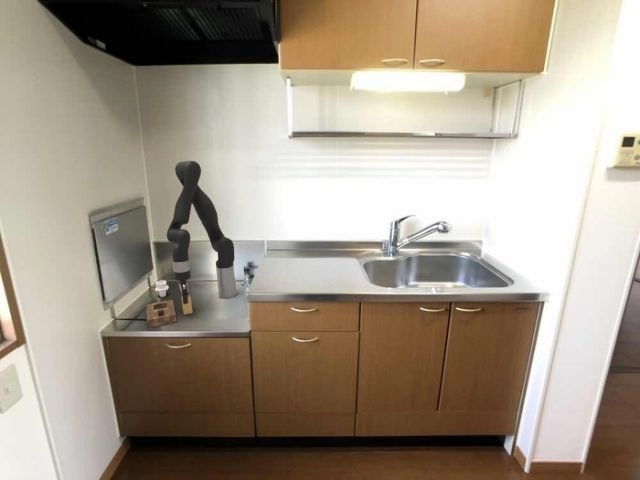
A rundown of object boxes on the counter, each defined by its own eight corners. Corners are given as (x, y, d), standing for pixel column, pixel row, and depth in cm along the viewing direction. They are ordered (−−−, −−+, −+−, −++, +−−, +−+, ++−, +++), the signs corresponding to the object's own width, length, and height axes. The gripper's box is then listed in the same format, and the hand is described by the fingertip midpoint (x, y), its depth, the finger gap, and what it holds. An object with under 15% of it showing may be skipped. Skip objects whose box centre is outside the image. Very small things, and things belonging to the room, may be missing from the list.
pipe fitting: (161, 292, 197) (159, 279, 195) (172, 294, 195) (170, 280, 193) (153, 297, 191) (151, 283, 189) (164, 298, 189) (162, 285, 187)
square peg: (191, 309, 177) (189, 295, 175) (192, 312, 173) (190, 298, 171) (183, 311, 175) (181, 296, 173) (184, 314, 172) (182, 299, 169)
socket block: (173, 306, 180) (172, 299, 179) (176, 322, 164) (175, 314, 163) (147, 311, 175) (146, 304, 174) (148, 328, 159) (147, 320, 158)
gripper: (191, 272, 164) (194, 304, 168) (188, 263, 176) (191, 293, 180) (174, 275, 161) (177, 307, 165) (172, 265, 173) (175, 296, 177)
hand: (184, 300), depth 173 cm, fingers open, 8 cm apart
